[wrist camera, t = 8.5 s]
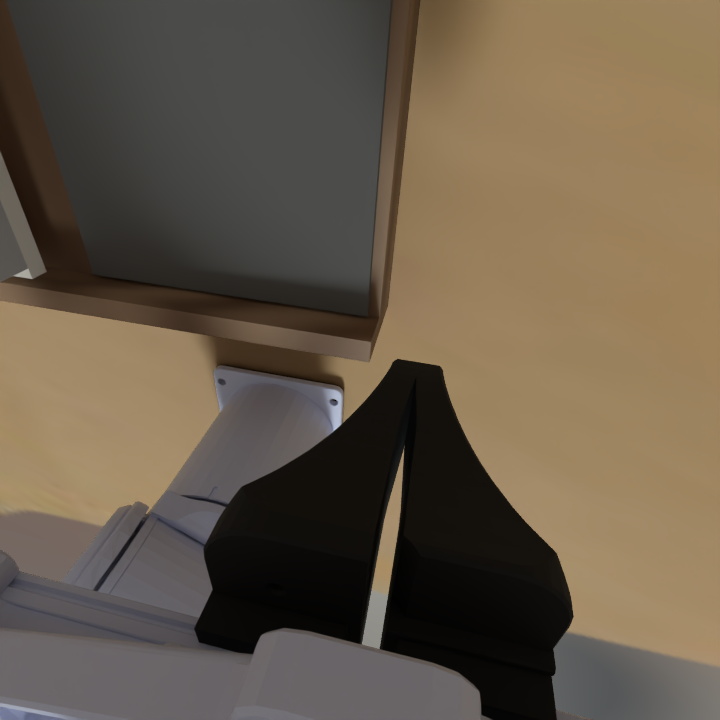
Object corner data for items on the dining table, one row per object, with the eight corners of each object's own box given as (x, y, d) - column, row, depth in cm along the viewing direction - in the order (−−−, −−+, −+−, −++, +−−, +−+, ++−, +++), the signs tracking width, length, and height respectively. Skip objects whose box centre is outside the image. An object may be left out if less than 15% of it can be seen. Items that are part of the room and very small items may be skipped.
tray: (433, -127, 13) (417, -203, 9) (387, 305, 22) (369, 362, 18) (-286, -140, 17) (-517, -198, 13) (-83, 235, 26) (-184, 269, 22)
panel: (400, -99, 12) (398, -103, 12) (368, 312, 19) (366, 316, 19) (-19, -110, 14) (-31, -114, 13) (99, 271, 21) (93, 274, 21)
